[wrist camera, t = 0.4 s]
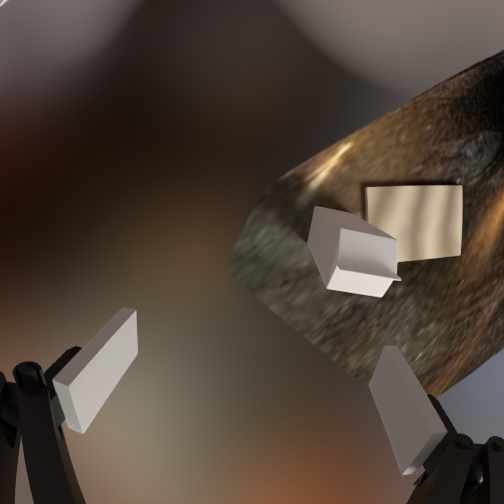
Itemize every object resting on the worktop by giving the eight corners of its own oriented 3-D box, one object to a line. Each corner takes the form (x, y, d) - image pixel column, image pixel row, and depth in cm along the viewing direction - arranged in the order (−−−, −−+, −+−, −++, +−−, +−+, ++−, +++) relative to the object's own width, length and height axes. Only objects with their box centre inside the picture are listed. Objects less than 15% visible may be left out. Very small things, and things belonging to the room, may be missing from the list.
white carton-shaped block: (343, 250, 46) (393, 313, 25) (306, 243, 46) (331, 304, 25) (351, 212, 44) (412, 248, 23) (313, 204, 45) (348, 235, 23)
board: (458, 185, 41) (461, 185, 40) (456, 253, 44) (460, 255, 43) (364, 186, 43) (366, 187, 42) (366, 262, 46) (369, 264, 45)
